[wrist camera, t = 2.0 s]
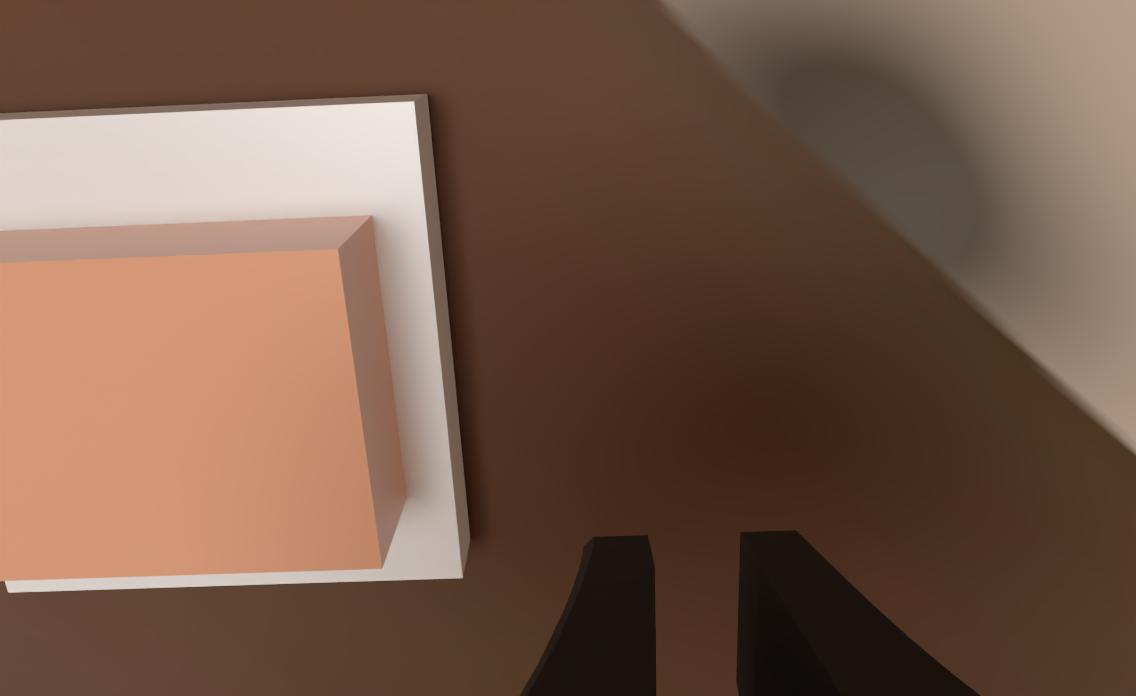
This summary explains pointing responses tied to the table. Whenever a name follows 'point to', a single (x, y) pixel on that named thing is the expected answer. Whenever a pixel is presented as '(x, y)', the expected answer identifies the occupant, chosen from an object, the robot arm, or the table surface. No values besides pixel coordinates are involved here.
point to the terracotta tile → (195, 400)
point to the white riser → (263, 192)
